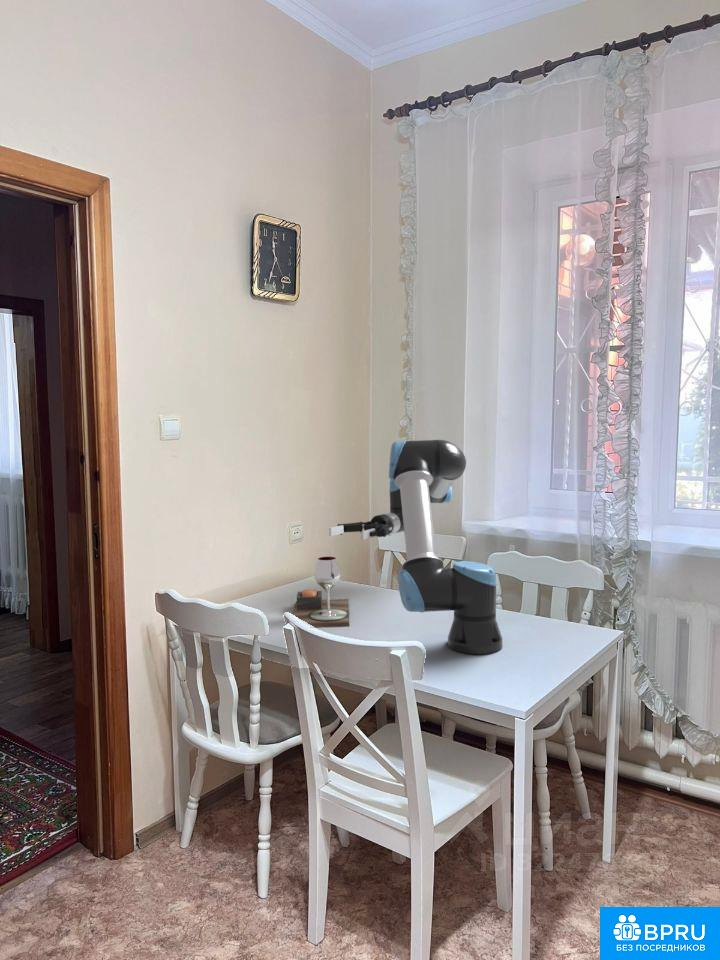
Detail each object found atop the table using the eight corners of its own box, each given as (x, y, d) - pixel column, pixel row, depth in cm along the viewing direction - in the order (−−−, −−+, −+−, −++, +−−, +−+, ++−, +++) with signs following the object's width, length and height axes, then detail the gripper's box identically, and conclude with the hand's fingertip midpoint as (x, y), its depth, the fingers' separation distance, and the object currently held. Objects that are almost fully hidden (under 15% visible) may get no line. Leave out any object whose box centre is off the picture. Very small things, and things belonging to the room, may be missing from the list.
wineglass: (341, 617, 225) (339, 560, 223) (315, 617, 225) (313, 561, 223) (341, 609, 233) (339, 555, 231) (316, 610, 233) (314, 556, 231)
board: (349, 626, 221) (348, 609, 220) (290, 628, 220) (290, 611, 220) (348, 602, 247) (347, 587, 246) (296, 604, 246) (295, 589, 246)
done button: (316, 602, 237) (316, 593, 236) (301, 603, 237) (301, 593, 236) (317, 598, 242) (316, 589, 241) (302, 599, 242) (302, 589, 241)
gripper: (414, 538, 243) (376, 548, 226) (357, 532, 258) (317, 541, 242) (414, 516, 242) (376, 525, 226) (356, 511, 258) (317, 519, 241)
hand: (345, 533), depth 234 cm, fingers open, 13 cm apart
